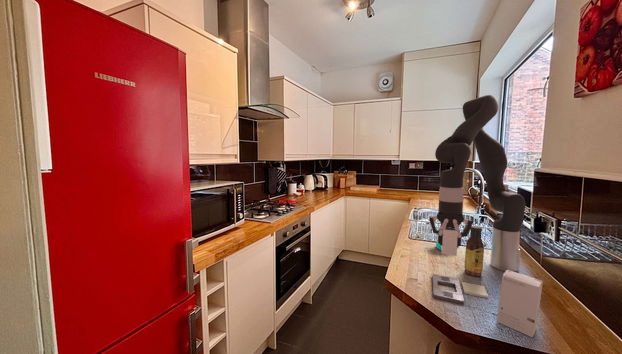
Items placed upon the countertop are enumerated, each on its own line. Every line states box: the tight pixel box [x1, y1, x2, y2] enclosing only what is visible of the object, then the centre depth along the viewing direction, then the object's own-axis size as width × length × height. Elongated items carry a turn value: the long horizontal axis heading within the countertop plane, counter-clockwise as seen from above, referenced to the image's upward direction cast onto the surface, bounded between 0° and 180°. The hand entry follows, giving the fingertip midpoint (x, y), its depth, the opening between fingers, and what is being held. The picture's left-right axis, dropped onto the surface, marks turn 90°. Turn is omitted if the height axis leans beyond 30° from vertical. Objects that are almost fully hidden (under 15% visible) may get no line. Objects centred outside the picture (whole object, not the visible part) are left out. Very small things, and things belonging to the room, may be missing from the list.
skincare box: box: [496, 270, 544, 338], centre depth 68 cm, size 8×6×15 cm
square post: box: [440, 227, 458, 257], centre depth 86 cm, size 4×4×9 cm
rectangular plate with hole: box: [431, 273, 465, 305], centre depth 88 cm, size 9×16×1 cm, turn 155°
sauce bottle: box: [463, 225, 485, 277], centre depth 99 cm, size 7×6×20 cm
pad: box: [461, 281, 489, 299], centre depth 87 cm, size 7×7×1 cm
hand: (448, 245), depth 87 cm, fingers closed on square post, 4 cm apart
